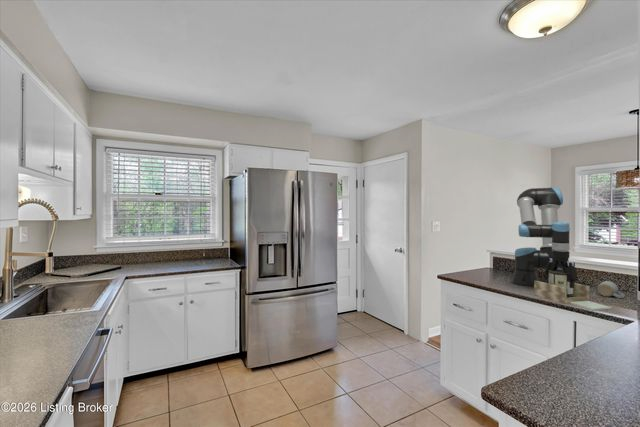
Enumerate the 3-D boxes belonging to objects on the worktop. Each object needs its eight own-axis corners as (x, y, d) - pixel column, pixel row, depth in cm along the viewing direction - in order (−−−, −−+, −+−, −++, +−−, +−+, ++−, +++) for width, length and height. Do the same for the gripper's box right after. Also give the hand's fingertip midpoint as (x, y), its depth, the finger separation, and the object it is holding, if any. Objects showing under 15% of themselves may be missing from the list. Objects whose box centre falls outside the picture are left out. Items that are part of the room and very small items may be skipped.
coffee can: (565, 294, 168) (565, 269, 168) (577, 300, 158) (577, 273, 158) (544, 293, 170) (544, 269, 170) (555, 299, 160) (555, 273, 160)
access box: (534, 294, 171) (534, 280, 171) (558, 293, 173) (558, 279, 173) (563, 303, 154) (563, 288, 154) (589, 301, 157) (589, 286, 157)
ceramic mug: (595, 295, 168) (596, 281, 168) (600, 292, 173) (600, 279, 173) (622, 300, 160) (622, 285, 160) (626, 297, 164) (626, 283, 164)
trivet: (569, 303, 154) (569, 301, 154) (587, 302, 156) (587, 300, 156) (592, 310, 143) (592, 308, 143) (611, 309, 145) (611, 307, 145)
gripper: (536, 248, 174) (536, 286, 174) (575, 253, 152) (575, 297, 152) (547, 247, 175) (547, 285, 176) (588, 253, 153) (587, 296, 153)
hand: (560, 291), depth 164 cm, fingers closed on coffee can, 10 cm apart
